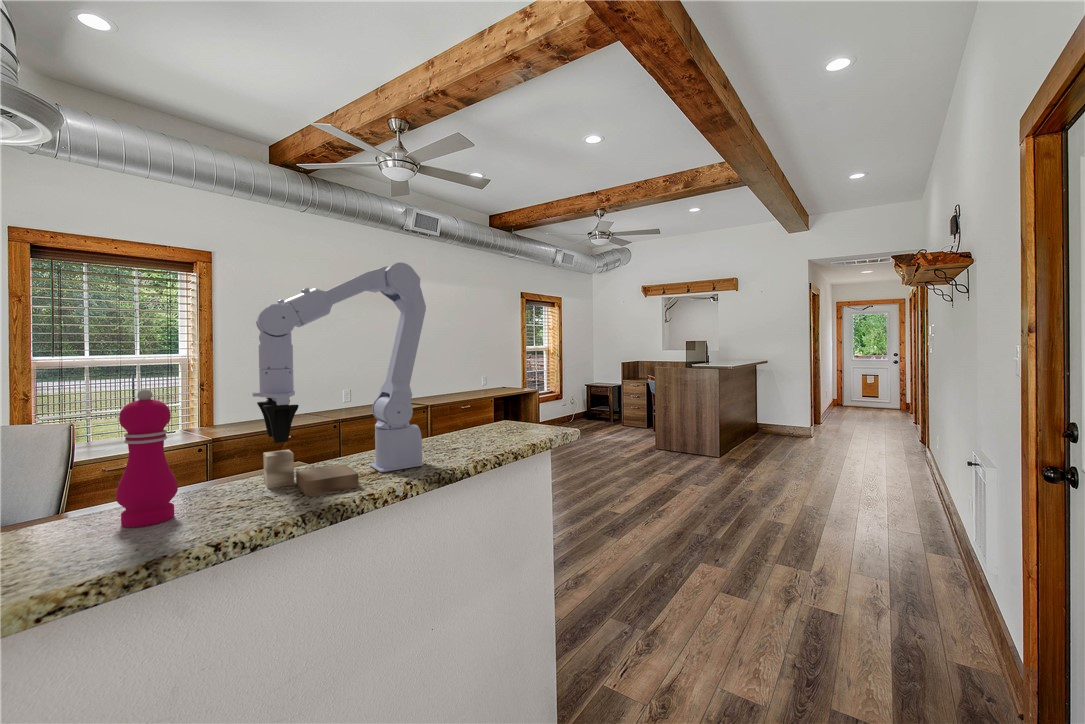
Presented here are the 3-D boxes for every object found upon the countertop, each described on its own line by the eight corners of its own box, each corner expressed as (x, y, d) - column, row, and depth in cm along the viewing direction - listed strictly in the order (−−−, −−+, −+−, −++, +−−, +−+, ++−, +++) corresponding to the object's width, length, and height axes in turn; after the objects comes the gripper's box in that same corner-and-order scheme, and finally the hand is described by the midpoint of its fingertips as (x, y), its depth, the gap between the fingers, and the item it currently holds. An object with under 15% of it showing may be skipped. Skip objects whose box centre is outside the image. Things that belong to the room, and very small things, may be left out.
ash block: (289, 479, 95) (289, 449, 95) (294, 484, 91) (293, 453, 91) (264, 483, 92) (263, 452, 92) (267, 488, 89) (266, 456, 88)
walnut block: (345, 479, 96) (345, 464, 96) (358, 489, 89) (358, 473, 89) (296, 486, 91) (296, 471, 91) (306, 498, 84) (305, 481, 84)
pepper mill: (146, 511, 76) (142, 387, 75) (190, 512, 76) (186, 387, 75) (102, 529, 69) (98, 391, 68) (151, 529, 69) (147, 391, 68)
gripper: (247, 368, 94) (249, 436, 95) (257, 370, 83) (258, 447, 83) (287, 367, 99) (288, 432, 99) (301, 369, 87) (302, 442, 88)
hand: (277, 439), depth 91 cm, fingers open, 7 cm apart
